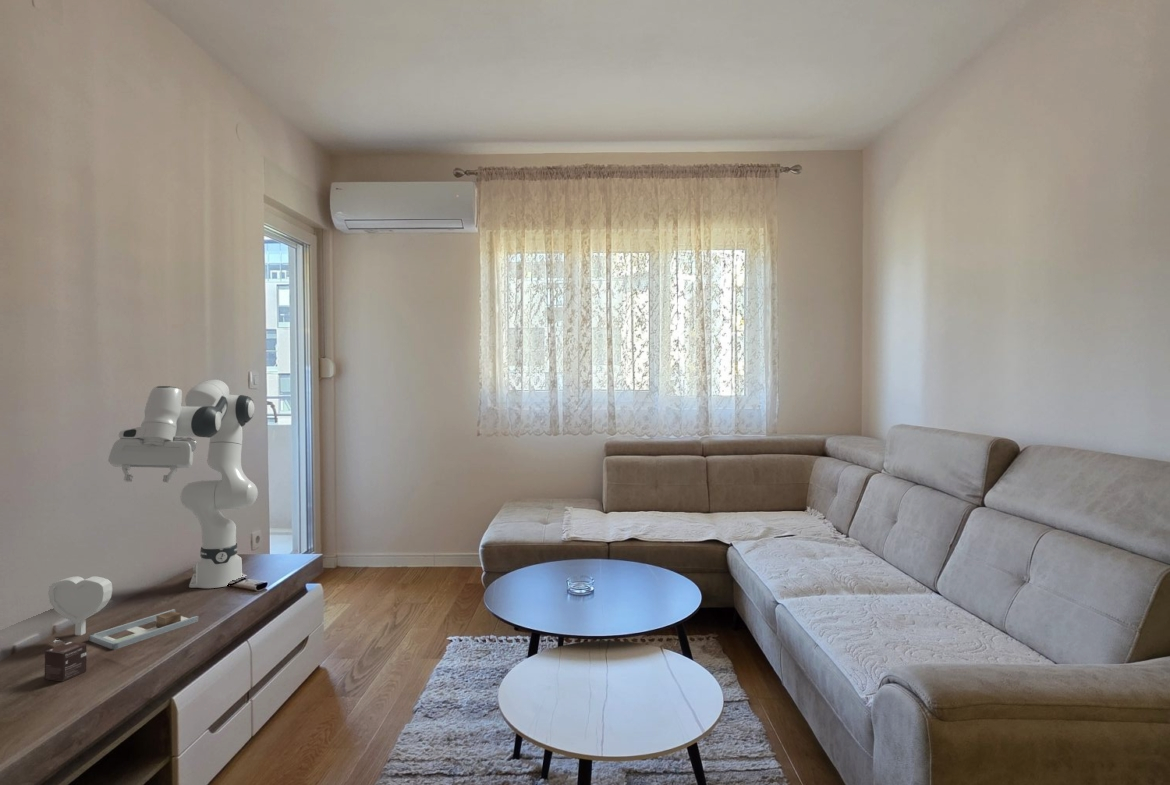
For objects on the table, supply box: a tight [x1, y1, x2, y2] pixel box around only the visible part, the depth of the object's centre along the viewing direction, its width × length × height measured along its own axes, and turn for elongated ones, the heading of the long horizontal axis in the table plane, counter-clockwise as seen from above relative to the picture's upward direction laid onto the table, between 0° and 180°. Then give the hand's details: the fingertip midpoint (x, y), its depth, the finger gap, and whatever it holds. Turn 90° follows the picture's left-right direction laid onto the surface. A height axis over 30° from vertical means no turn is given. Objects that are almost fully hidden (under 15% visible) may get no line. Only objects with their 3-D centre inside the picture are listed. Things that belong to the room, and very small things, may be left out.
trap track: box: [88, 608, 199, 651], centre depth 178 cm, size 23×13×3 cm, turn 154°
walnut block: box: [155, 611, 182, 628], centre depth 182 cm, size 4×4×4 cm
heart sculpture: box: [47, 575, 113, 644], centre depth 175 cm, size 16×5×18 cm, turn 93°
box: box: [44, 641, 87, 682], centre depth 154 cm, size 6×6×7 cm
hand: (147, 481), depth 172 cm, fingers open, 8 cm apart
